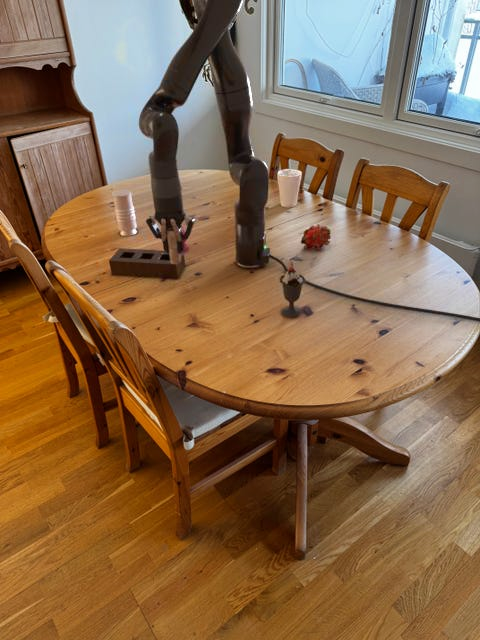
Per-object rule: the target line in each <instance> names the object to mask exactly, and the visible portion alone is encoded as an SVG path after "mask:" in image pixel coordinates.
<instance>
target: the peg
mask: <svg viewBox="0 0 480 640" xmlns="http://www.w3.org/2000/svg"><path fill="white" fill-rule="evenodd" d="M166 232H167V240H168V247H169V254H170V262H171V263H172V264H178V263H180V262H181V256H180V253H178V246H177V241H178V240H177V237H176V234H175V232H174V229H173V227H166Z"/></svg>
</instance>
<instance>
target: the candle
mask: <svg viewBox="0 0 480 640" xmlns="http://www.w3.org/2000/svg"><path fill="white" fill-rule="evenodd" d="M111 196H112V197H113V199H112V200H113V203H114V215H115V220H116V221H117V229H118V231H120V233H119V234H120V235H121V236H123V237H130V236H134V235H136V234H137V230H136V229H137V227H138V225H137V222H136V218H137V215H136V210H135V206H134V204H133V198H132V191H131V190H130V189H125V188H121V189H117V190H113V191H112V192H111Z"/></svg>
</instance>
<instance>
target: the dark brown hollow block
mask: <svg viewBox="0 0 480 640" xmlns="http://www.w3.org/2000/svg"><path fill="white" fill-rule="evenodd" d="M180 256H181V262H180V263H178V264H172V263H171V262H170V254H169V253H166V251H164V250H160V249H143V248H142V249H140V248H122V247H121V248H118V249H117V251H116V252H114V254H113V255H112V257H110V259H108V264H109V268H110V273H111V276H122V277H123V276H124V277H139V278H153V279H170V280H171V279H172V280H179V279H180V276H181V274H182V273H183V270H184V269H185V268H186V261H185V252H182V253H180Z"/></svg>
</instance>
